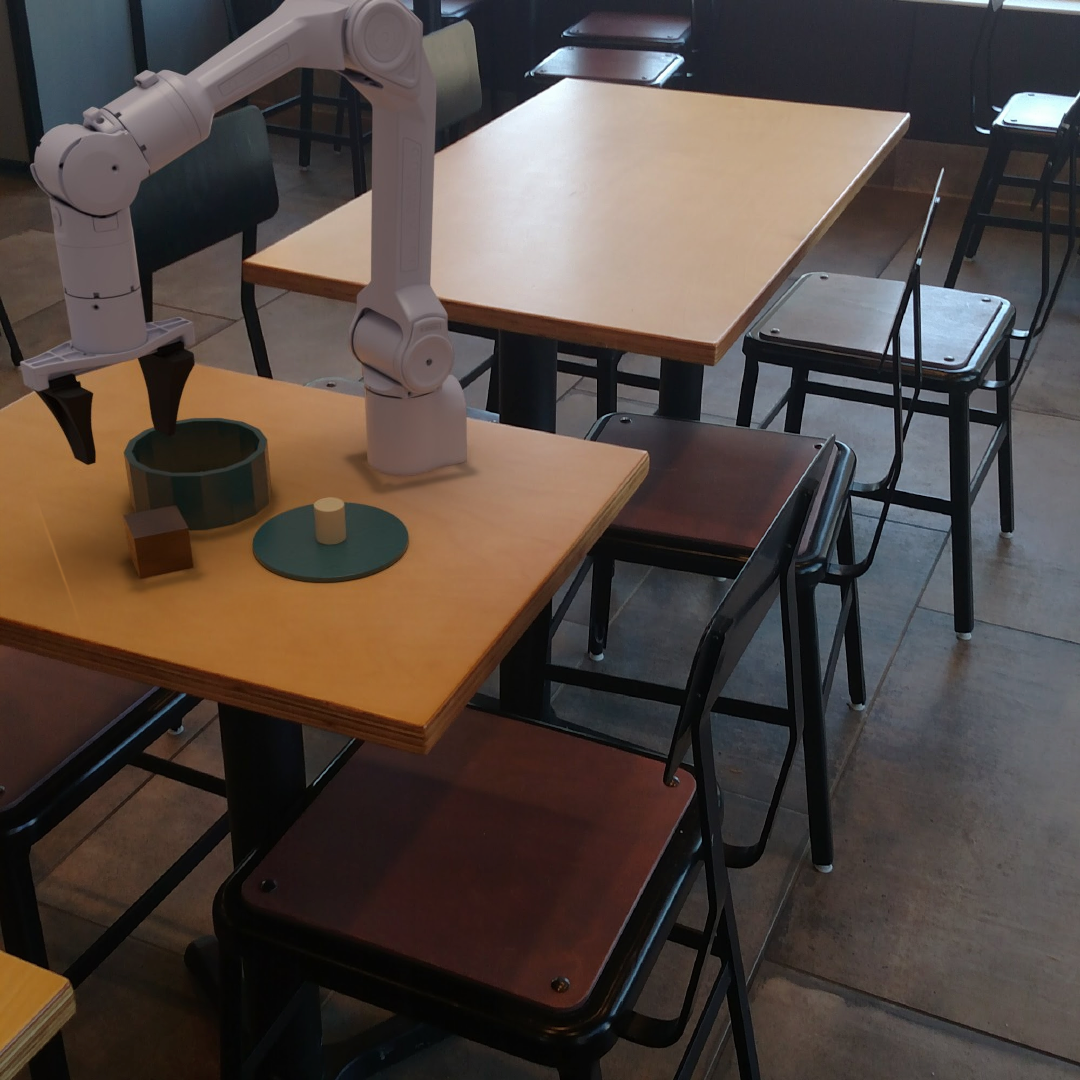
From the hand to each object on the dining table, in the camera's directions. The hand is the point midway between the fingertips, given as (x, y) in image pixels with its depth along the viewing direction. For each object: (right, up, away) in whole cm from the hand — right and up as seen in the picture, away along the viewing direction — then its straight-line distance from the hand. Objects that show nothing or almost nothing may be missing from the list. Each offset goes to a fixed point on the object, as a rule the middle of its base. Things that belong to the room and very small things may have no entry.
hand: (126, 445), depth 104 cm
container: (+3, -4, +12) cm, 13 cm away
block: (+2, -10, +2) cm, 11 cm away
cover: (+16, -8, +5) cm, 19 cm away
